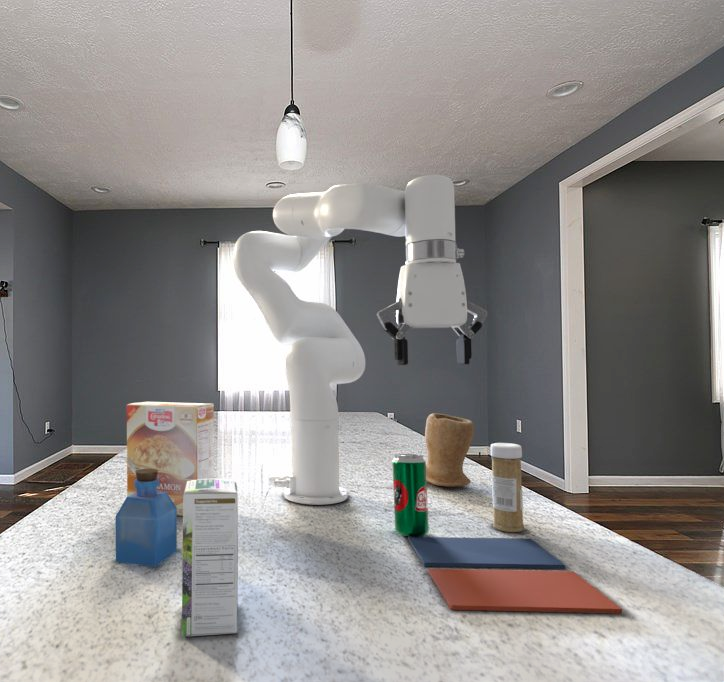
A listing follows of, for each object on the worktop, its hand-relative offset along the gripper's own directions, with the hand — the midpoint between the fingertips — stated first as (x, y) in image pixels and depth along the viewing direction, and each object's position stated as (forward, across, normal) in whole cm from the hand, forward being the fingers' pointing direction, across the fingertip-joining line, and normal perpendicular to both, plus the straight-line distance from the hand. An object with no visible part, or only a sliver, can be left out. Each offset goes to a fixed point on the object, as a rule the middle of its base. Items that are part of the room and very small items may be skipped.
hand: (432, 364), depth 83 cm
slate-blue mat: (+26, -3, +8) cm, 28 cm away
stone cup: (+27, -14, -33) cm, 44 cm away
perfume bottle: (+27, +44, +6) cm, 52 cm away
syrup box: (+27, +34, +26) cm, 50 cm away
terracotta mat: (+26, -2, +20) cm, 33 cm away
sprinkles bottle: (+27, -12, -2) cm, 29 cm away
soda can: (+26, +4, 0) cm, 27 cm away
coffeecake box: (+27, +44, -17) cm, 54 cm away
